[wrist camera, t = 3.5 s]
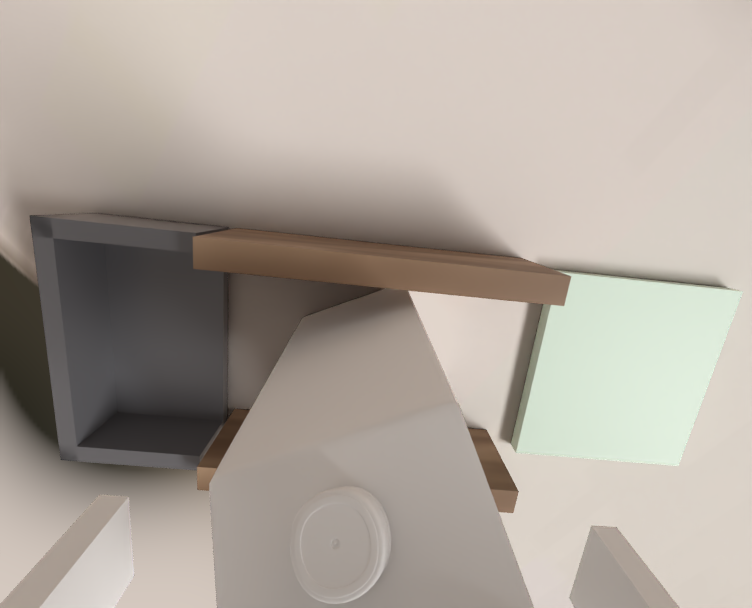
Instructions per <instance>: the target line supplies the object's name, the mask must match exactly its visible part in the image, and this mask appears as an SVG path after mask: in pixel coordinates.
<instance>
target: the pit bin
mask: <svg viewBox="0 0 752 608" xmlns="http://www.w3.org/2000/svg"><path fill="white" fill-rule="evenodd" d="M30 223H31V230H32V238H33V246H34V254H35V262H36V270H37V277H38V285H39V292H40V301H41V308H42V316H43V324H44V332H45V340H46V348H47V355H48V363H49V371H50V379H51V386H52V395H53V402H54V410H55V418H56V425H57V433H58V441H59V449H60V457H61V460H68V461H81V462H94V463H107V464H120V465H133V466H147V467H160V468H173V469H186V470H187V469H188V470H197V466H198V465H199V463H200V462H201V460H202V458H203V457H204V455H205V454H206V452H207V451H208V449H209V448H210V446H211V444H212V443H213V441H214V440H215V438H216V437H217V435H218V434H219V432H220V431H221V429H222V427H223V426H224V424H225V423H226V421H227V382H228V272H220V271H210V270H200V269H193V237H194V236H199V235H204V234H209V233H214V232H219V231H224V230H228V227H222V226H213V225H203V224H194V223H184V222H175V221H166V220H156V219H147V218H137V217H128V216H119V215H109V214H100V213H80V214H55V215H31V216H30Z"/></svg>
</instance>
